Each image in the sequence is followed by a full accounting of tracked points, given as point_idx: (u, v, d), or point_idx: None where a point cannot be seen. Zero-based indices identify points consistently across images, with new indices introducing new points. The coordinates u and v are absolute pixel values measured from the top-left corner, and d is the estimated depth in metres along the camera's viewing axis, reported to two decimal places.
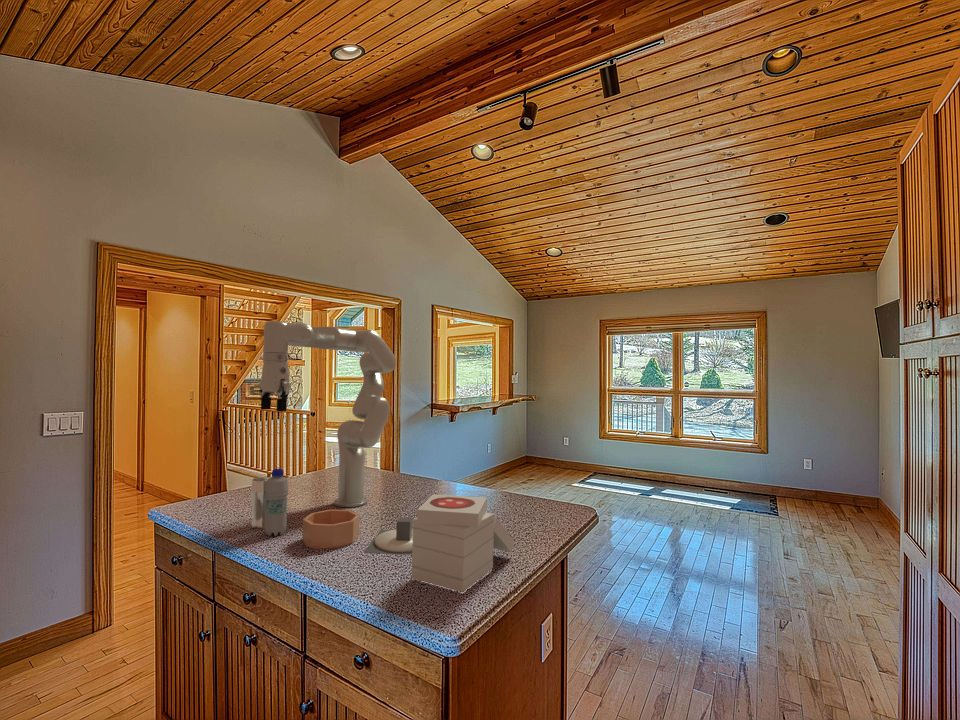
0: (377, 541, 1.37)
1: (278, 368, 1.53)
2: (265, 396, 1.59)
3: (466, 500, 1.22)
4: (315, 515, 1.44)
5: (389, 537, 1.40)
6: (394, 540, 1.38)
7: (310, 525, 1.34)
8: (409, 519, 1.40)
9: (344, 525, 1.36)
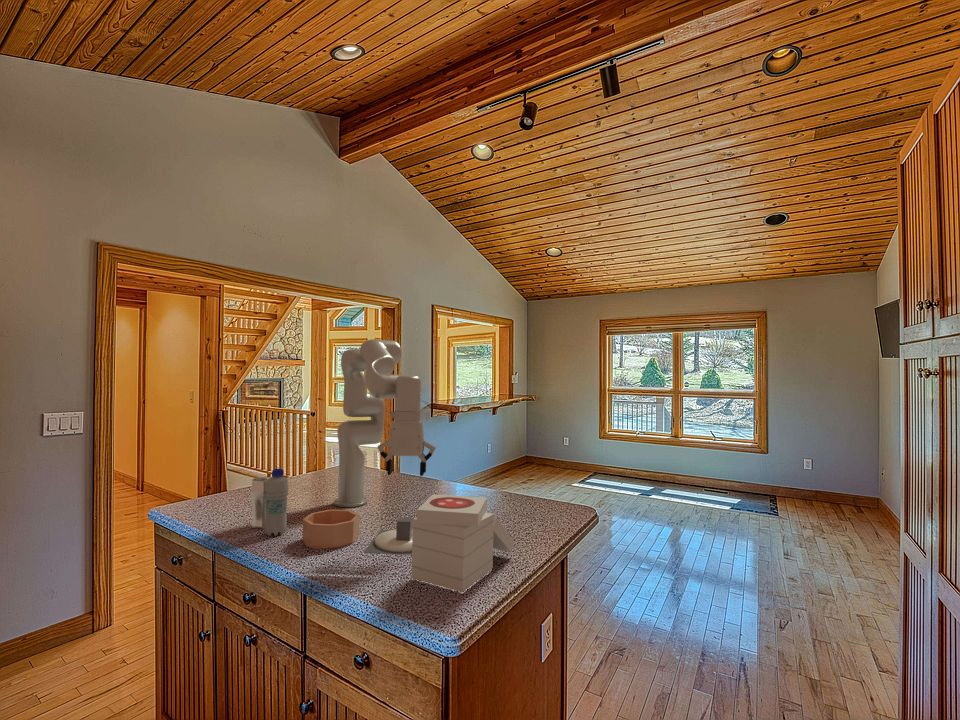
0: (377, 541, 1.37)
1: None
2: None
3: (466, 500, 1.22)
4: (315, 515, 1.44)
5: (389, 537, 1.40)
6: (394, 540, 1.38)
7: (310, 525, 1.34)
8: (409, 519, 1.40)
9: (344, 525, 1.36)
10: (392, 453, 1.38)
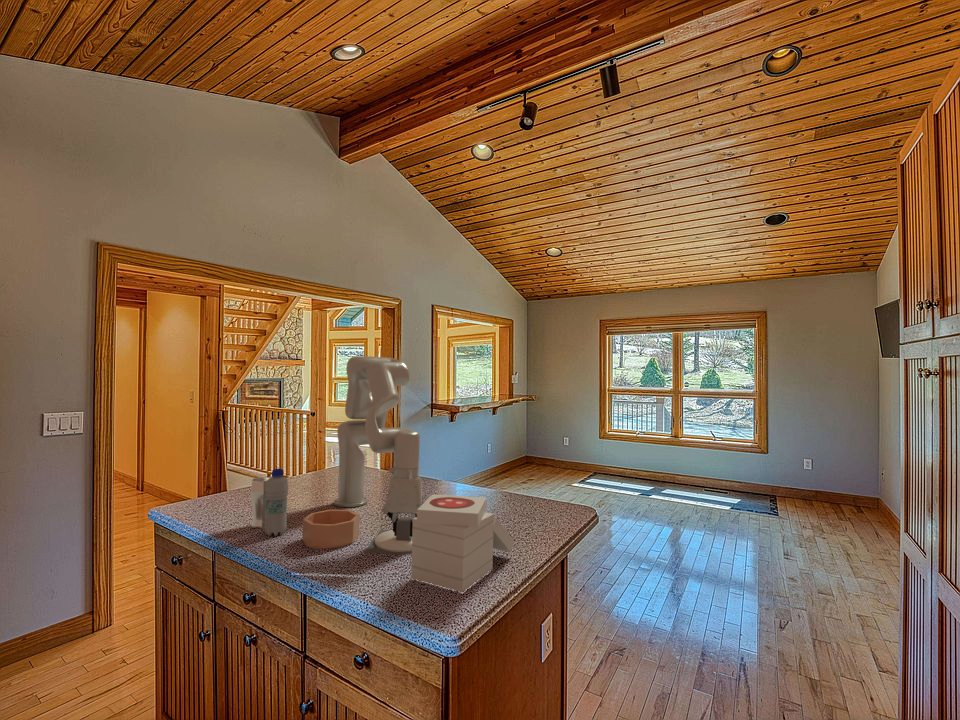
0: (377, 541, 1.37)
1: None
2: None
3: (466, 500, 1.22)
4: (315, 515, 1.44)
5: (389, 537, 1.40)
6: (394, 540, 1.38)
7: (310, 525, 1.34)
8: (409, 519, 1.40)
9: (344, 525, 1.36)
10: (391, 510, 1.38)
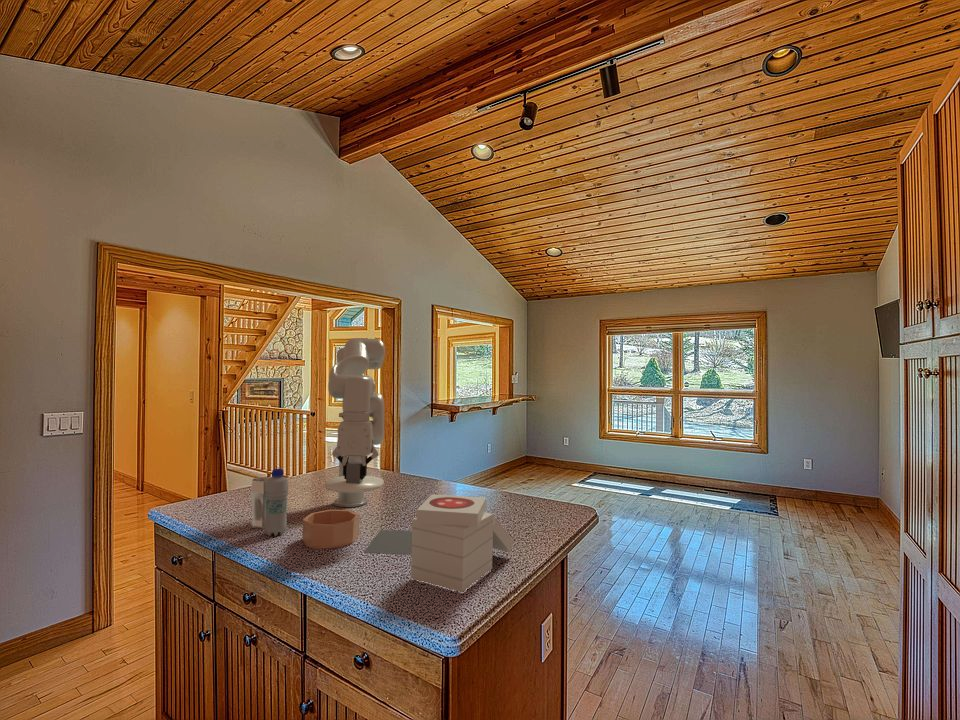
0: (327, 483, 1.38)
1: None
2: None
3: (466, 500, 1.22)
4: (315, 515, 1.44)
5: (339, 481, 1.41)
6: (344, 483, 1.39)
7: (310, 525, 1.34)
8: (359, 463, 1.42)
9: (344, 525, 1.36)
10: (340, 453, 1.39)
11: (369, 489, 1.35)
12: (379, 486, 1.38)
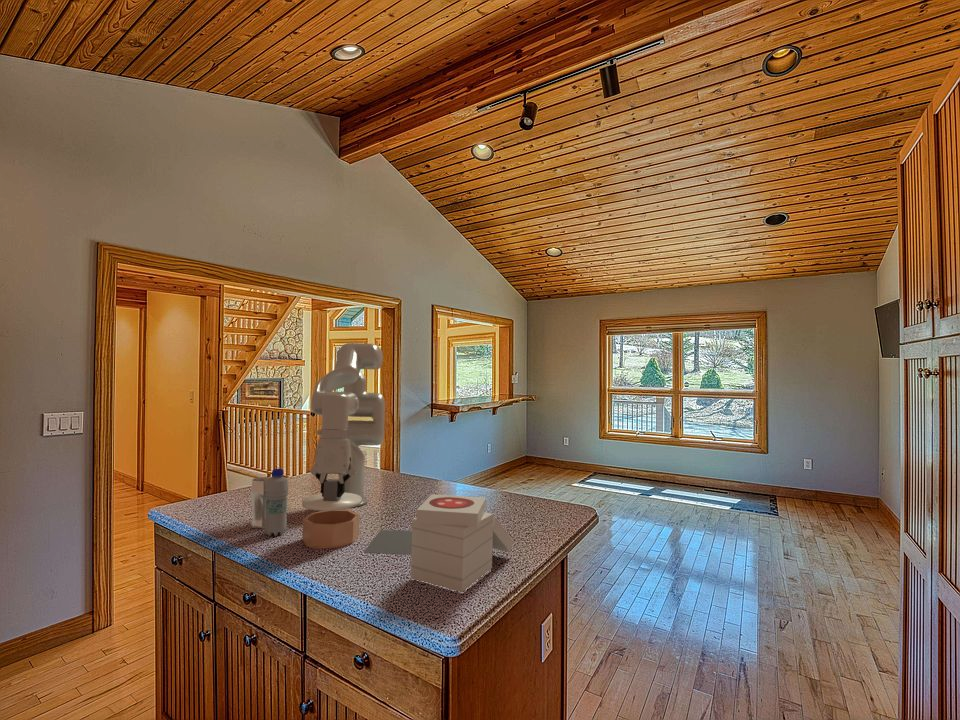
0: (304, 501, 1.38)
1: None
2: None
3: (465, 500, 1.22)
4: (315, 515, 1.44)
5: (317, 498, 1.41)
6: (321, 500, 1.39)
7: (310, 525, 1.34)
8: (337, 480, 1.41)
9: (344, 525, 1.36)
10: (318, 471, 1.39)
11: (345, 507, 1.35)
12: (356, 504, 1.38)
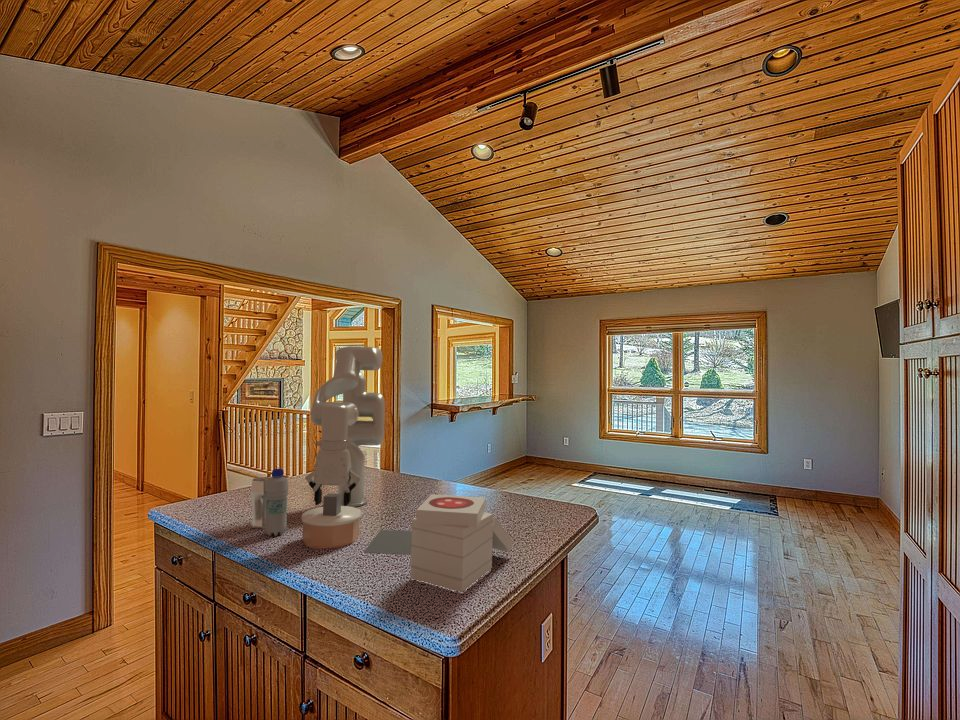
0: (303, 516, 1.38)
1: None
2: None
3: (465, 500, 1.22)
4: None
5: (317, 512, 1.41)
6: (321, 515, 1.39)
7: (310, 525, 1.34)
8: (337, 495, 1.41)
9: (344, 525, 1.36)
10: (317, 482, 1.39)
11: (345, 522, 1.35)
12: (355, 519, 1.38)
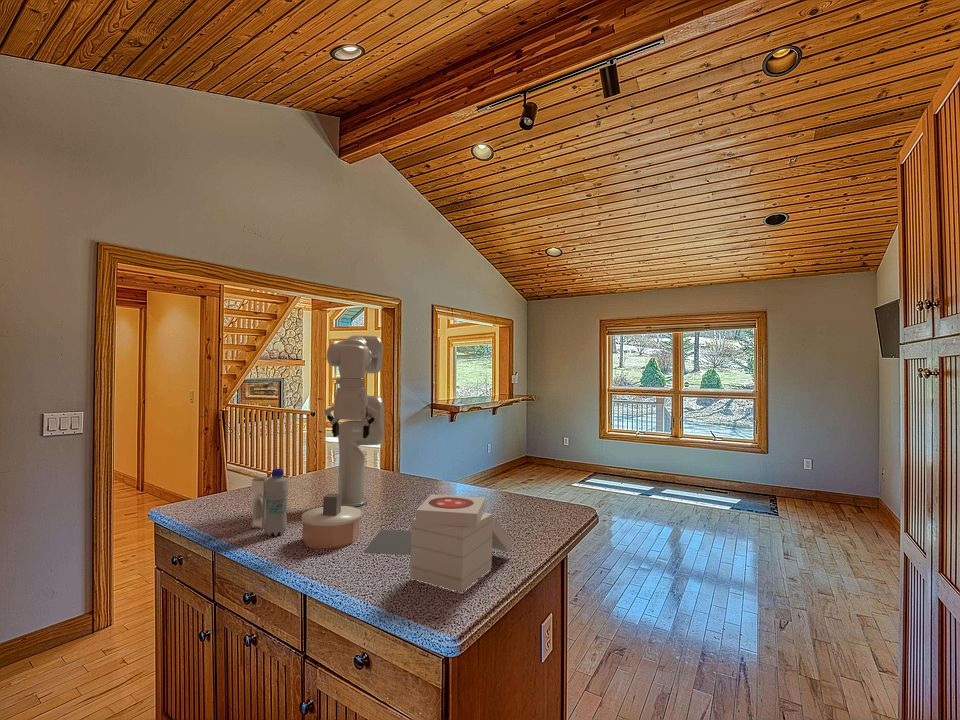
0: (303, 516, 1.38)
1: None
2: None
3: (465, 500, 1.22)
4: None
5: (317, 512, 1.41)
6: (321, 515, 1.39)
7: (310, 525, 1.34)
8: (337, 495, 1.41)
9: (344, 525, 1.36)
10: (337, 417, 1.48)
11: (345, 522, 1.35)
12: (355, 519, 1.38)
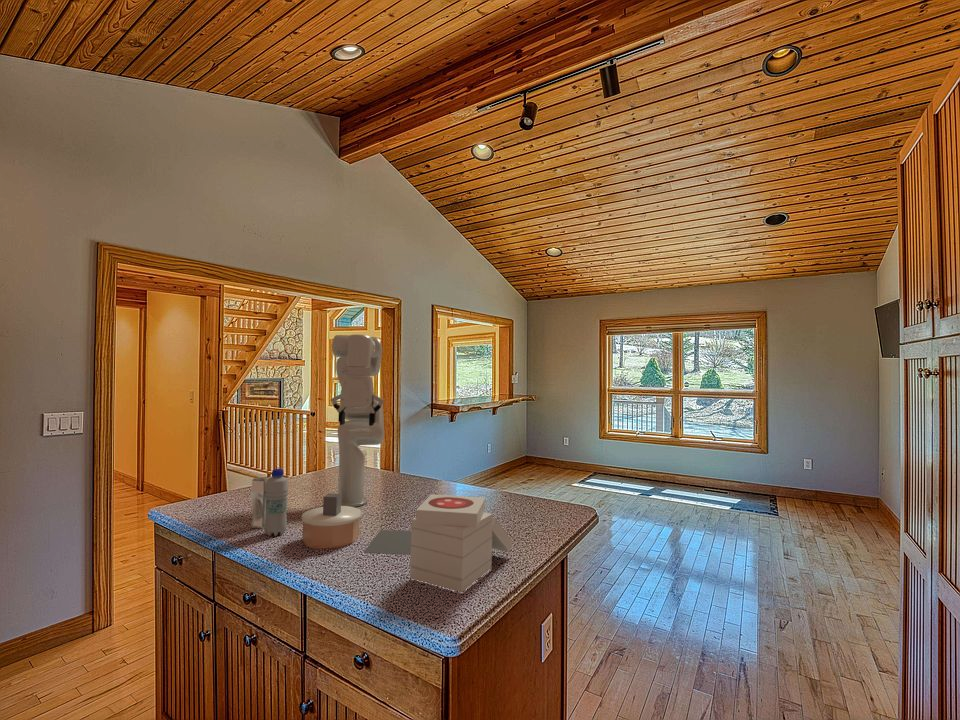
0: (303, 516, 1.38)
1: None
2: None
3: (465, 500, 1.22)
4: None
5: (317, 512, 1.41)
6: (321, 515, 1.39)
7: (310, 525, 1.34)
8: (337, 495, 1.41)
9: (344, 525, 1.36)
10: (343, 404, 1.51)
11: (345, 522, 1.35)
12: (355, 519, 1.38)
